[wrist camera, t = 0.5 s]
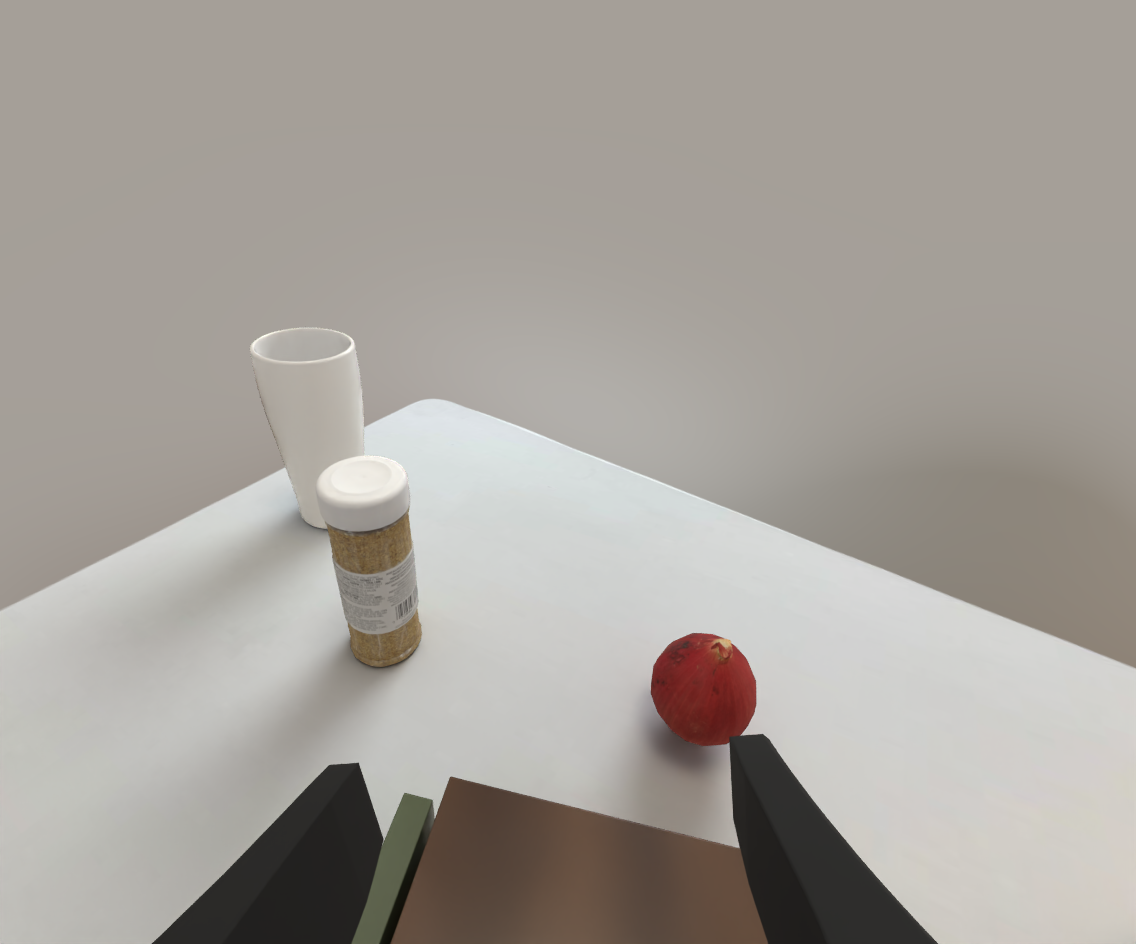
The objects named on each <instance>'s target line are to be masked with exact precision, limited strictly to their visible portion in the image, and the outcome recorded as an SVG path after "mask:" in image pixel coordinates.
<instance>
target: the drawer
mask: <svg viewBox="0 0 1136 944" xmlns="http://www.w3.org/2000/svg"><path fill="white" fill-rule="evenodd" d="M434 820H435V818H434V808H433V800H431V799H427V798H423V797H419V796H415V795H411V794H407V793H404V795H403V797H402V800H401V802H400V805H399V807H398V809H397V812H396V814H395V817H394V819H393V821H392V824H391V826H390V829H389V831H388V833H387V836H386V838H385V841H384V843H383V845H382V848H381V851H380V855H379V859H378V863H377V867H376V871H375V875H374V878H373V882H372V885H371V889H370V893H369V896H368V900H367V903H366V906H365V909H364V911H363V914H362V917H361V920H360V922H359V925H358V928H357V930H356V933H355V936H354V938H353V941H352V944H390V943H391V941H392V938H393V935H394V932H395V929H396V927H397V924H398V921H399V918H400V916H401V913H402V910H403V907H404V904H405V902H406V899H407V896H408V893H409V890H410V888H411V885H412V882H413V879H414V876H415V874H416V871H417V868H418V865H419V862H420V860H421V857H422V854H423V851H424V848H425V846H426V843H427V840H428V837H429V834H430V832H431V829H432V826H433V823H434Z"/></svg>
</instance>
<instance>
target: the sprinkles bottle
mask: <svg viewBox="0 0 1136 944" xmlns="http://www.w3.org/2000/svg"><path fill="white" fill-rule="evenodd" d="M316 494H317V500H318V505H319V509H320V514H321V516H322V518H323V519H324V520H325V524H326V525H327V528H328V533H329V536H330V542H331V547H332V553H333V555H332V559H333V564H334V568H335V573H336V577H337V582H338V586H339V591H340V595H341V600H342V605H343V609H344V614H345V618H346V620H347V622H348V627H349V631H350V636H351V639H350V644H351V649H352V651H353V653H354V655H355V657H356V658H357V659H358V660H360V661H362V662H363V663H365V664H367V665H370V666H377V667H383V666H389V665H392V664H396V663H398V662H400V661H402V660H404V659H406V658H407V657H408V656H409V655H411V654H412V652H414V650H415V649H416V648H417V646H418V644H419V642H420V639H421V635H422V632H421V624H420V622H419V619H418V610H417V607H418V592H417V580H416V569H415V559H414V549H413V541H412V538H411V532H410V523H409V515H408V512H409V507H410V490H409V482H408V476H407V473H406V471H405V469H404V468H403V467H402V466H401V465H400V464H399V463H397V462H395V461H394V460H391V459H389V458H385V457H380V456H357V457H352V458H348V459H344V460H342V461H339V462H337V463H335V464H333V465H331V466H330V467H328V468H327V469H325V470H324V471H323V472H322V473H321V475H320V476H319V478H318V480H317V482H316Z"/></svg>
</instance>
